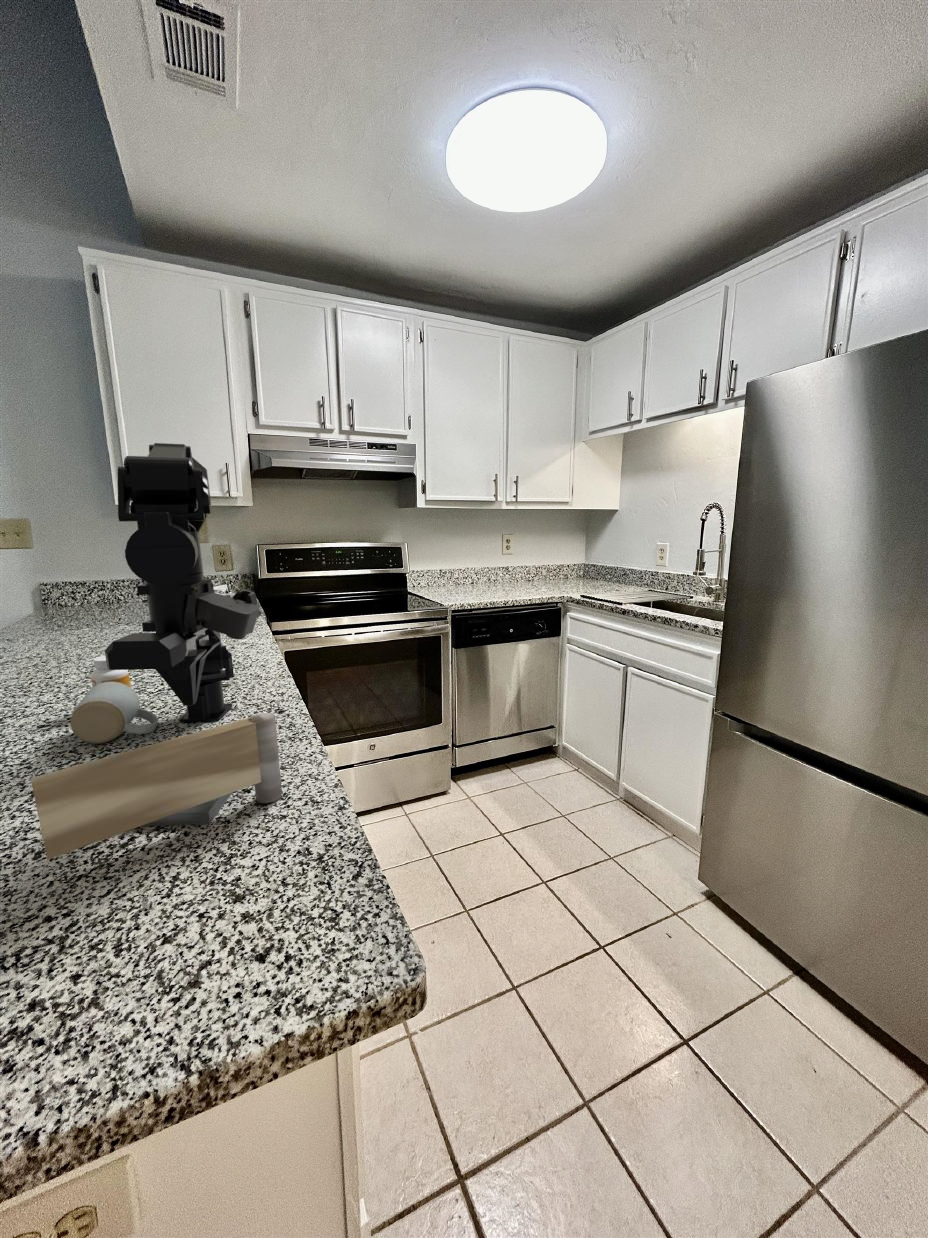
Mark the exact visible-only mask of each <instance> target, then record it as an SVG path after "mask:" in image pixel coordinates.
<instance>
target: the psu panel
mask: <svg viewBox="0 0 928 1238" xmlns="http://www.w3.org/2000/svg"><path fill="white" fill-rule="evenodd" d="M232 794H233V792H232V793H230V794H227V795H224V796H221V797H219V798H216V799H213V800H210V801H208V802H205V803H202V804H199V805H197V806H194V807H191V808H188V809H186V810H183V811H180V812H177V813H175V814H172V815H169V816H166V817H164V818H161V819H158V820H156V821H153V822H150V823H147V824H145V825H142V826H141V827H161V826H165V827H166V826H186V825H187V826H188V825H192V826H193V825H210V824H211V823H212V822H213V820H214V819H215V817H216V816H217V815H218V813H219V812H220V810H221V809H222V808H223V806H224V805H225V804H226V802H227V801H228V799H229V798H230V796H231V795H232Z"/></svg>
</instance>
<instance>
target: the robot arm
mask: <svg viewBox="0 0 928 1238" xmlns="http://www.w3.org/2000/svg"><path fill="white" fill-rule="evenodd" d="M148 452H149V454H148V455H147V456H143V455H126V456H125V457H124V460H123V466H118V467H117V516H118V517H117V518H118V522H119V523H120V522H122V523H123V522H124V523H125V522H136V525H137V529H136V530H135V532H133V533H132V534H131V535H130V537H129V539H128V540H127V542H126V545H125V549H124V553H125V554H124V556H125V557H124V558H125V561H126V564H127V565H128V568H129V569H130V571H131V572H132V573H133V574H134V575H135V576H136V577H137V578H138V579H141V580H143V582H144V583H142V584H139V585H136V591H137V596H146V599H147V607H148V612H149V613H148V614H149V620H146V621H143V622H141V626H142V632H134V633H130V634H128V635H124V636H123V637H120V638H118V639H115V640H113V641H111V643H110V644H109V645H108V646H107V647H106V648H105V649H104V656H106V663H107V668H108V669H109V670H128V671H129V670H131V671H133V670H134V671H135V670H139V671H140V670H155V671H156V673H158V674H159V675H160V677H161V678H162V679H163V680H164V681H165V683H166V684H167V685H168V687H169V688H170V689H171V691H173V693H174V695H175V696H176V697H177V698H178V700H179V701H180V702H181V703H182V705H183V706H185V707H186V710H187V711H186V712H185V713H184V714H183V715H182V716H180V717H179V718H178V720H179V722H208V721H209V722H213V721H219V720H221V718H223V716H225V715H226V714H227V713H228V712H229V711H230V710H231V709H232V708H233V703H225V697H224V691H223V682H228V681H231V679H232V678H234V677H235V674H234V665H233V663H234V662H233V657H232V652H230V651H229V649H228V648H227V645H226V644H225V645H222V637H221V636H222V635H221V634H223V635H226V636H227V637H228V638H229V639H234V640H243V639H245V638H246V637H247V636H248V635H249V634H253V632H254V628H255V625H256V621H257V619H258V618H259V617H260V616H262V612H261V610H260V608H261V604H259V603H258V601H257V595H256V593H255V592H254V591H251V590H248V589H245V588H244V589H241V590H239V591H237V592H236V593H235V594H234V595H233V596H232V597H231V595H230V594H227V593H226V594H225V595H223V594H219V593H216V592H215V588H214V584H213V583H214V582H212V581H211V579H210V578H205V577H204V568H203V558H202V551H201V542H200V540H201V539H200V531H201V528H202V526H204V525H203V524H204V522H205V521H206V519H207V517H208V515H211V506H212V500H211V491H210V484H209V476H208V470H207V468H206V467H205V466H203V465H202V464H201V462H198V460H197V459H196V458H195V457H193V453H192V448H191V446H188V445H185V443H165V442H160V443H159V442H155V443H153V444H149V445H148Z"/></svg>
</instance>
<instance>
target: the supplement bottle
mask: <svg viewBox="0 0 928 1238" xmlns="http://www.w3.org/2000/svg"><path fill="white" fill-rule="evenodd" d="M92 661H93V667H94V668H95V670H94V671H92V673H91V675H90V680H91V685H92V688H93V687H94V686H96V685H98V684H100V683H104V682H118V683H122V684H125V685H127V686H128V687H130V688H131V689H132V687H131V681H130V680H131V679H130V675H129V670H109V669H108V668H107V663H106V656H105V655H102V656H97V657H95V658H93V659H92Z"/></svg>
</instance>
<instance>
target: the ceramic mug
mask: <svg viewBox="0 0 928 1238" xmlns="http://www.w3.org/2000/svg"><path fill="white" fill-rule="evenodd" d="M139 698H140V697H139V695H138V693H136V691H135V690H134V689H132V687H131V688H130V687H128V686H127V685H125V684H122V683H118V682H104V683H100V684H98V685H96V686H94V687H93V686H92V688H90V689H89V690H88V691H87V692H86V694H85V695H84V697H83V698H82V699H81V700H80V702H78V704H77V705H76V707H75V708H74V710H73V711H72V714H71V717H70V729H71V731H72V732H73V734H74V735H75V736H76V737H77V738H78V739H79V740H81V741H83V742H85V743H90V744H106V743H108V742H111V741H113V740H115V739H116V738H117V737H119V736H120V735H122V734H123V732H125V733H128V734H132V735H133V734H135V735H146V734H150V733H152V732H154V731H155V730H156V729H157V726H158V723H159V718H158V716H157V715H156V714H155V713H153V712H151V711H149V710H147V709H145V708H141V707H140V704H141V703H140V699H139ZM135 718H140V719H143V720H144V721H147V722H149V723H150V724H147V725H144V724H142V725H141V724H135V723H131V722H132V721H133V720H134V719H135Z"/></svg>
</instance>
